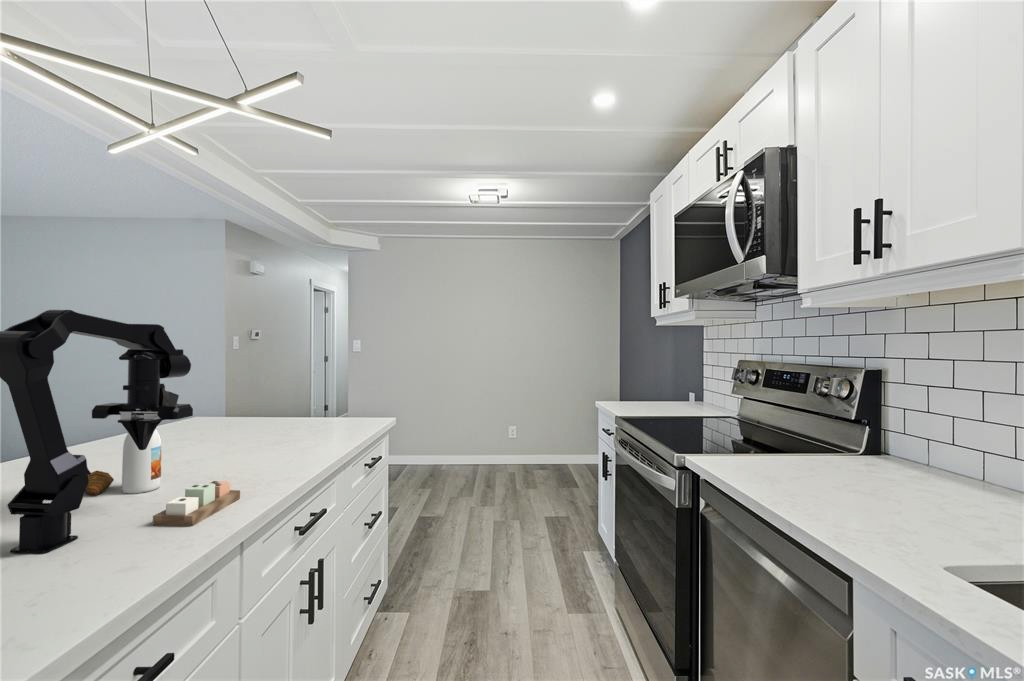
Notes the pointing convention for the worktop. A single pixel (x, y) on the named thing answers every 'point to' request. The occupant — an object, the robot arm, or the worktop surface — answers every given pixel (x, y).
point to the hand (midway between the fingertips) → (142, 449)
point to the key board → (196, 512)
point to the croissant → (98, 483)
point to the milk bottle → (141, 465)
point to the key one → (182, 506)
